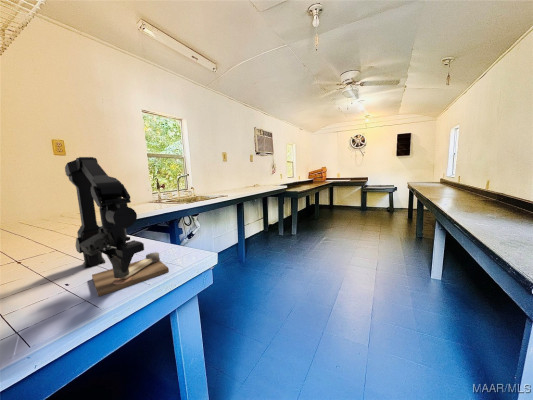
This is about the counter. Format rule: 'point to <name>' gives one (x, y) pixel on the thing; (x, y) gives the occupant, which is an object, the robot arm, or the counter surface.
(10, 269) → the counter surface
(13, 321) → the counter surface
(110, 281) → the board
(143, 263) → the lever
